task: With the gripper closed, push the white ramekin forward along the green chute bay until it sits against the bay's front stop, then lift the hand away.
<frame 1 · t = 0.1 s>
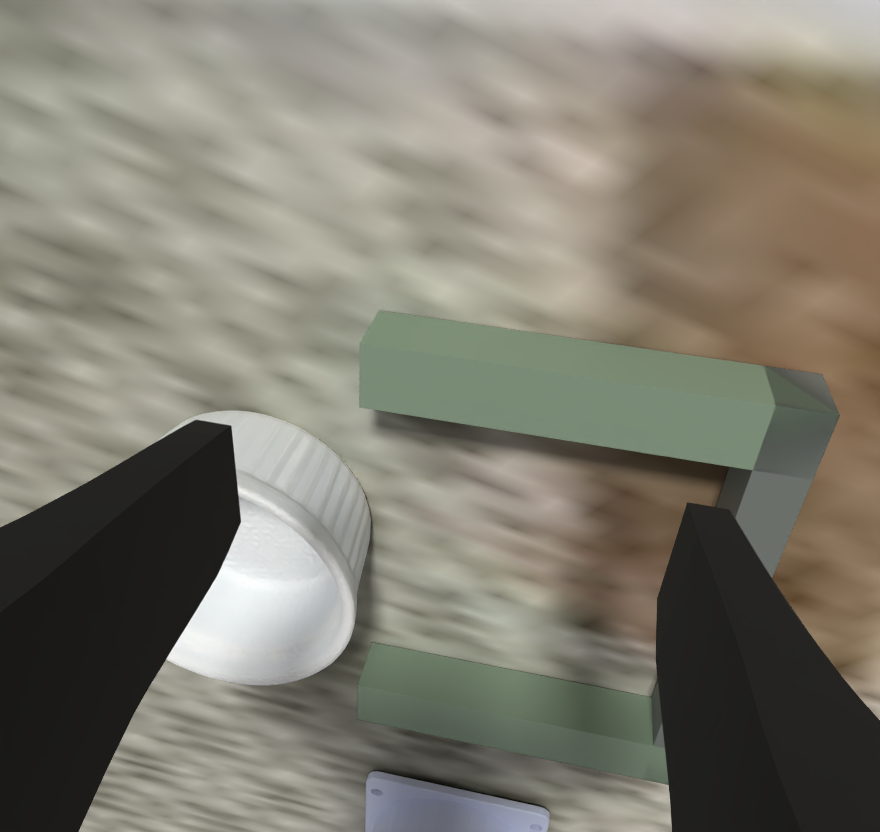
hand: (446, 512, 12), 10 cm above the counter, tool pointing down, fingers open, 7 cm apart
chute bay: (551, 555, 26), on the counter
ramekin: (265, 497, 27), on the counter
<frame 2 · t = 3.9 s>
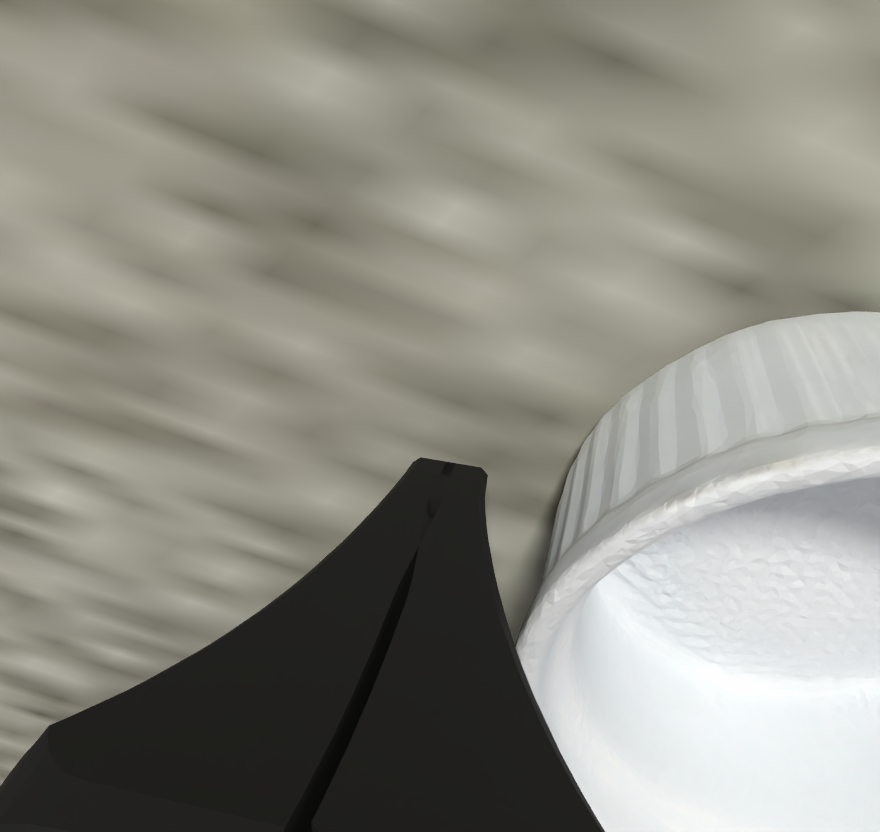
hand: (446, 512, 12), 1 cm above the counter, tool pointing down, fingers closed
ramekin: (803, 512, 13), on the counter, touching gripper
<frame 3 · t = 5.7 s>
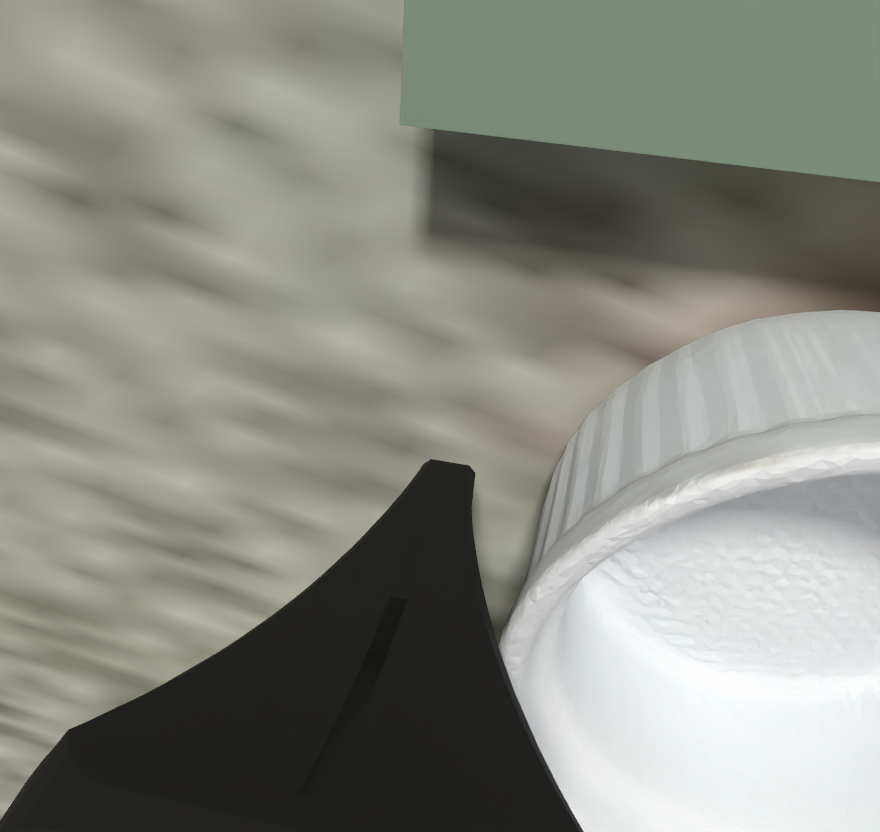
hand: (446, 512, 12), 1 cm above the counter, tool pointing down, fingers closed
chute bay: (766, 513, 13), on the counter
ramekin: (788, 510, 13), on the counter, touching chute bay, gripper
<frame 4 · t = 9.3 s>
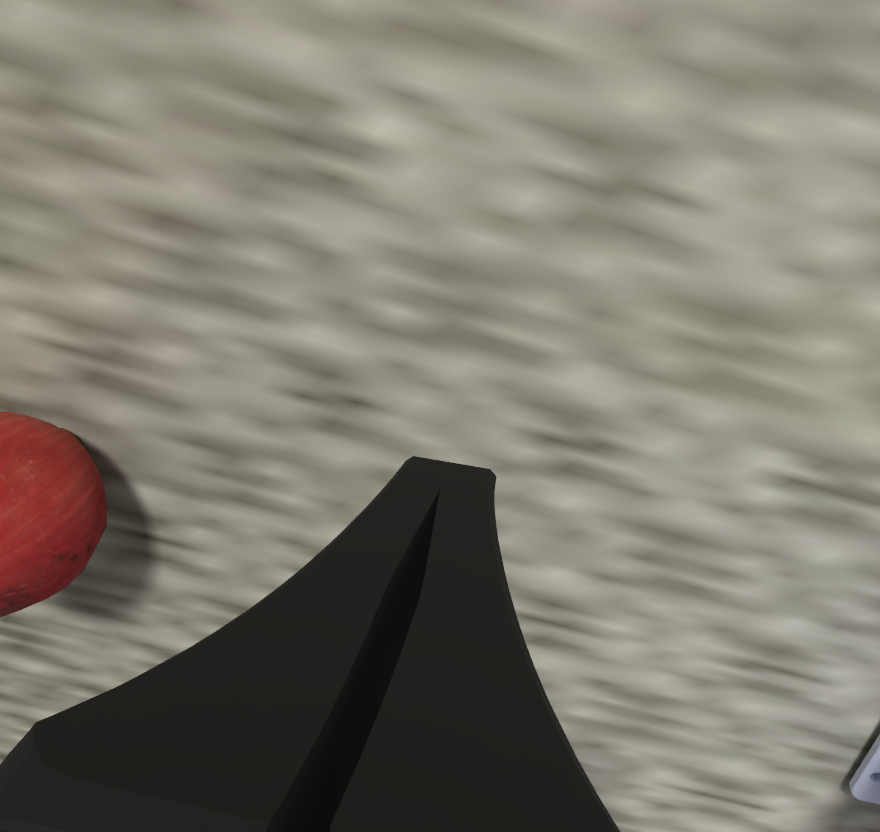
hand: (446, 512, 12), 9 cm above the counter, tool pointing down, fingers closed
red rounded piece: (74, 437, 27), on the counter
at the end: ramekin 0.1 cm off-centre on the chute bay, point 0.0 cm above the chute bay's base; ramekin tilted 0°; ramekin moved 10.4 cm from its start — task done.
